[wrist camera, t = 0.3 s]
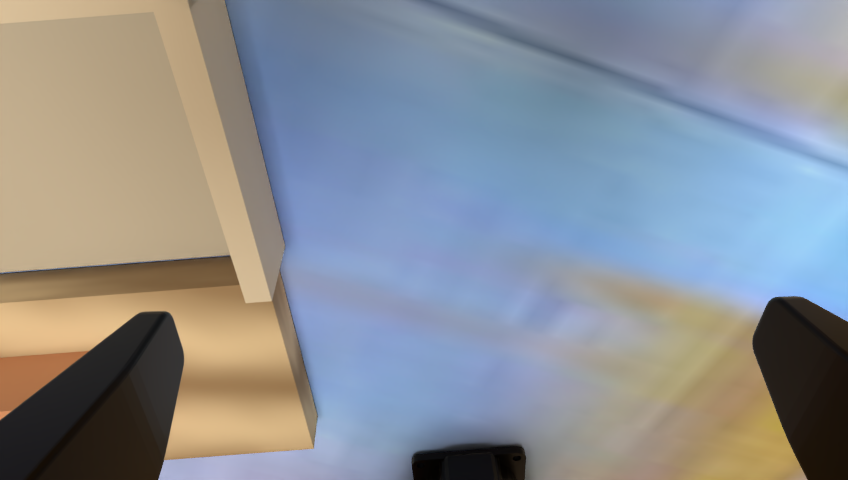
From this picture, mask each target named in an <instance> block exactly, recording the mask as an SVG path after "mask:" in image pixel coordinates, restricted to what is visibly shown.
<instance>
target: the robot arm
mask: <svg viewBox="0 0 848 480" xmlns="http://www.w3.org/2000/svg"><path fill="white" fill-rule="evenodd" d="M753 350H754V354H755V356H756V359H757V362H758V364H759V367H760V369H761V372H762V375H763V377H764V380H765V382H766V385H767V388H768V390H769V393H770V396H771V398H772V401H773V403H774V406H775V409H776V411H777V414H778V417H779V419H780V422H781V424H782V427H783V429H784V432H785V434H786V436H787V439H788V441H789V443H790V445H791V447H792V450H793V452H794V454H795V456H796V458H797V460H798V462H799V464H800V466H801V468H802V470H803V472H804V474H805V476H806V478H807V479H808V480H848V322H847V321H845V320H843V319H842V318H840V317H838V316H836V315H834V314H833V313H831V312H829V311H827V310H825V309H823V308H822V307H820V306H818V305H816V304H814V303H812V302H811V301H809V300H807V299H805V298H803V297H797V296H791V297H775V298H772V299H771V300H770V301H769V302H768V304H767V306H766V308H765V310H764V312H763V315H762V317H761V319H760V321H759V324H758V326H757V328H756V330H755V333H754V335H753ZM183 367H184V351H183V348H182V344H181V341H180V338H179V335H178V332H177V328H176V325H175V322H174V319H173V317H172V315H171V314H170V313H169V312H167V311H144V312H140V313H138V314H136V315H135V316H134V317H132V318H131V319H130V320H128V321H127V322H126V323H124V324H123V325H122V326H121V327H119V328H118V329H117V330H115V331H114V332H113V333H112V334H110V335H109V336H108V337H106V338H105V339H104V340H103V341H101V342H100V343H99V344H97V345H96V346H95V347H94V348H92V349H91V350H90V351H88V352H87V353H86V354H84V355H83V356H82V357H81V358H79V359H78V360H77V361H75V362H74V363H73V364H72V365H70V366H69V367H68V368H66V369H65V370H64V371H63V372H61V373H60V374H59V375H57V376H56V377H55V378H53V379H52V380H51V381H50V382H48V383H47V384H46V385H44V386H43V387H42V388H41V389H39V390H38V391H37V392H35V393H34V394H33V395H32V396H30V397H29V398H28V399H26V400H25V401H24V402H22V403H21V404H20V405H19V406H17V407H16V408H15V409H13V410H12V411H11V412H10V413H8V414H7V415H6V416H4V417H3V418H2V419H1V420H0V480H158V478H159V475H160V472H161V469H162V465H163V462H164V458H165V454H166V449H167V445H168V440H169V435H170V430H171V426H172V421H173V416H174V411H175V406H176V401H177V396H178V392H179V387H180V382H181V377H182V372H183ZM525 463H526V456H525V451H524V449H523V448H521V447H508V448H495V449H481V450H468V451H455V452H442V453H429V454H418V455H415V456H414V457H413V458H412V470H413V478H414V480H524V479H525Z"/></svg>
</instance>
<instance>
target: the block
mask: <svg viewBox="0 0 848 480" xmlns="http://www.w3.org/2000/svg"><path fill="white" fill-rule="evenodd" d="M87 352H88V351H82V352H69V353H56V354H43V355H30V356H17V357H3V358H0V420H1V419H2V418H3V417H4V416H6V415H7V414H8V413H10V412H11V411H12V410H13V409H15V408H16V407H17V406H19V405H20V404H21V403H22V402H24V401H25V400H26V399H28V398H29V397H30V396H32V395H33V394H34V393H35V392H37V391H38V390H39V389H41V388H42V387H43V386H44V385H46V384H47V383H48V382H50V381H51V380H52V379H53V378H55V377H56V376H57V375H59V374H60V373H61V372H63V371H64V370H65V369H66V368H68V367H69V366H70V365H72V364H73V363H74V362H75V361H77V360H78V359H79V358H81V357H82V356H83V355H84V354H86V353H87Z"/></svg>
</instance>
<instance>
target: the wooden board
mask: <svg viewBox="0 0 848 480" xmlns="http://www.w3.org/2000/svg"><path fill="white" fill-rule="evenodd" d="M144 311H167V312H169V313H170V314H171V315H172V317H173V319H174V322H175V325H176V328H177V332H178V335H179V338H180V341H181V344H182V348H183V351H184V367H183V372H182V377H181V382H180V387H179V392H178V396H177V401H176V406H175V411H174V416H173V421H172V426H171V430H170V435H169V440H168V445H167V449H166V454H165V458H164V460H170V459H183V458H196V457H210V456H223V455H236V454H249V453H262V452H276V451H289V450H302V449H314V442H315V434H316V426H317V417H318V416H317V412H316V408H315V404H314V401H313V397H312V393H311V389H310V385H309V381H308V378H307V374H306V370H305V366H304V362H303V358H302V355H301V351H300V347H299V343H298V339H297V335H296V332H295V328H294V324H293V320H292V316H291V312H290V309H289V305H288V301H287V297H286V293H285V289H284V285H283V282H282V278H281V274H280V270H279V274H278V278H277V283H276V287H275V291H274V295H273V299H272V301H268V302H255V303H245V300H244V296H243V293H242V290H241V287H240V284H239V281H238V278H237V274H236V271H235V268H234V265H233V262H232V259H231V256H230V257H217V258H204V259H191V260H178V261H165V262H152V263H138V264H125V265H112V266H99V267H86V268H73V269H60V270H47V271H34V272H21V273H7V274H0V358H3V357H17V356H30V355H43V354H56V353H69V352H82V351H90V350H91V349H92V348H94V347H95V346H96V345H97V344H99V343H100V342H101V341H103V340H104V339H105V338H106V337H108V336H109V335H110V334H112V333H113V332H114V331H115V330H117V329H118V328H119V327H121V326H122V325H123V324H124V323H126V322H127V321H128V320H130V319H131V318H132V317H134V316H135V315H136V314H138V313H140V312H144Z"/></svg>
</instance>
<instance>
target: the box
mask: <svg viewBox="0 0 848 480" xmlns="http://www.w3.org/2000/svg"><path fill="white" fill-rule="evenodd" d="M284 250H285V243H284V239H283V235H282V231H281V227H280V223H279V219H278V215H277V211H276V207H275V203H274V199H273V195H272V191H271V187H270V183H269V178H268V174H267V170H266V166H265V162H264V158H263V154H262V150H261V146H260V142H259V138H258V134H257V130H256V126H255V122H254V118H253V114H252V109H251V105H250V101H249V97H248V93H247V89H246V85H245V81H244V77H243V73H242V69H241V65H240V61H239V57H238V53H237V49H236V44H235V40H234V36H233V32H232V28H231V24H230V20H229V16H228V12H227V8H226V4H225V0H0V272H13V271H26V270H39V269H52V268H65V267H78V266H91V265H105V264H118V263H131V262H144V261H157V260H170V259H183V258H196V257H209V256H222V255H231V259H232V262H233V265H234V268H235V271H236V274H237V278H238V281H239V284H240V287H241V290H242V293H243V296H244V300H245V303H255V302H268V301H272V299H273V295H274V291H275V287H276V283H277V278H278V274H279V270H280V266H281V262H282V258H283V254H284Z"/></svg>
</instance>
